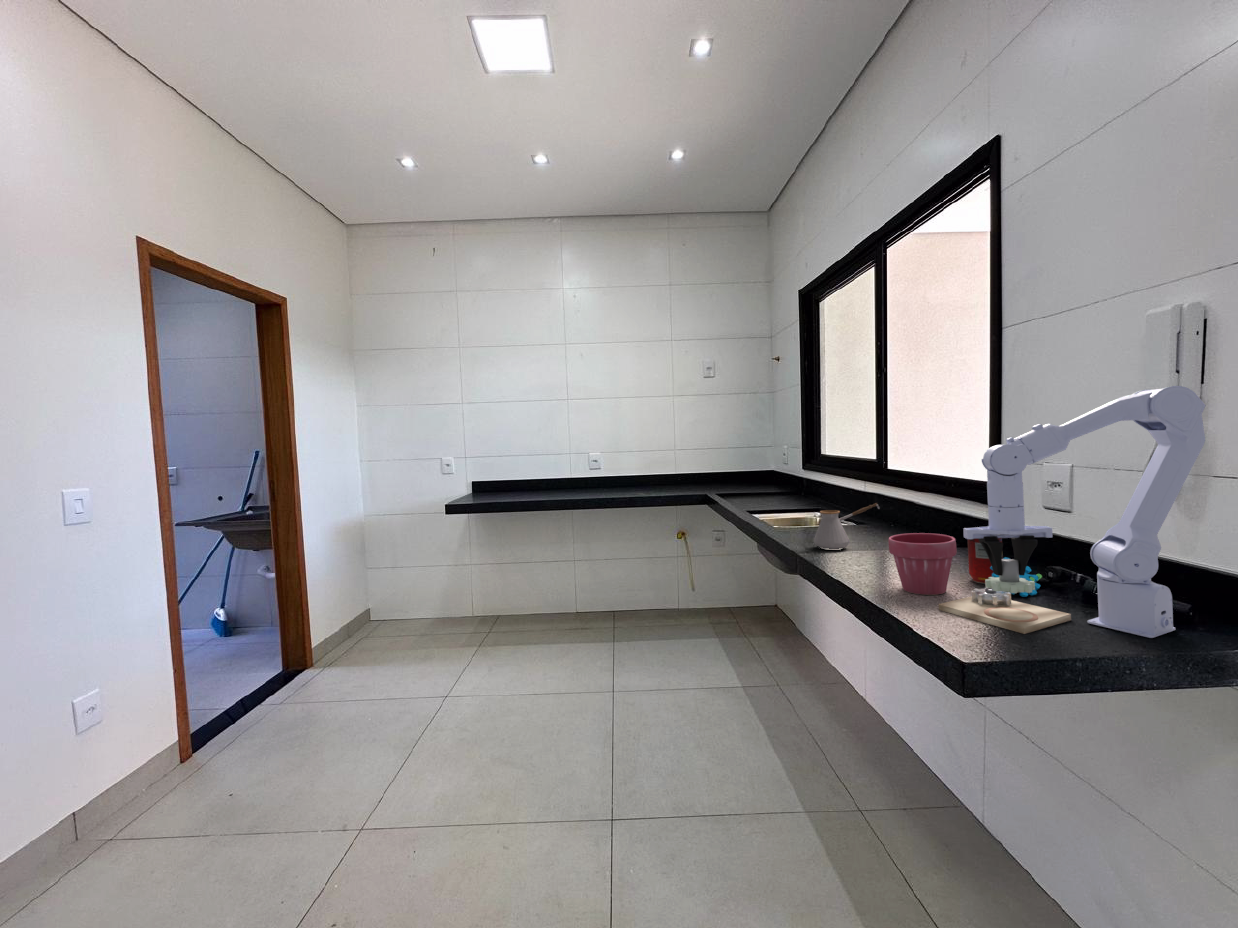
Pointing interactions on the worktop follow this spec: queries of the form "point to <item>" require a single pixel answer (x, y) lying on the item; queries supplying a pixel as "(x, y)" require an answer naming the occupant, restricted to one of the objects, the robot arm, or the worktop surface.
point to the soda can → (979, 561)
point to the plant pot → (923, 561)
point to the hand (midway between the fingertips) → (1008, 574)
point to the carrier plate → (1007, 614)
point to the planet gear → (1010, 579)
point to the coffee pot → (834, 529)
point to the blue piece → (1027, 577)
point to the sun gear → (991, 597)
